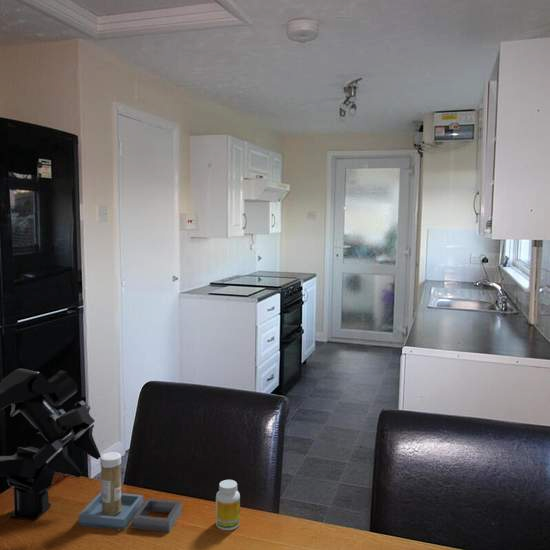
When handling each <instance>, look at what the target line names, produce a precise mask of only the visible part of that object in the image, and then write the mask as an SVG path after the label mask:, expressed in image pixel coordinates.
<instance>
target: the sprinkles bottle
mask: <svg viewBox="0 0 550 550" xmlns="http://www.w3.org/2000/svg"><path fill="white" fill-rule="evenodd" d="M99 459H100V460H99V462H100V463H99V465H100V469H101V470H100V473H101V475H100V476H101V477H100V484H101V485H100V489H101V491H100V492H101V496H102V514H103V515H105V516H114V515H117V514H119V513H120V512H121V510H122V507H121V493H122V476H121V475H122V474H121V465H122V454H121V453H120V452H115V451H109V452H106V453H103V454H102V455H101V457H100V458H99Z"/></svg>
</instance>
